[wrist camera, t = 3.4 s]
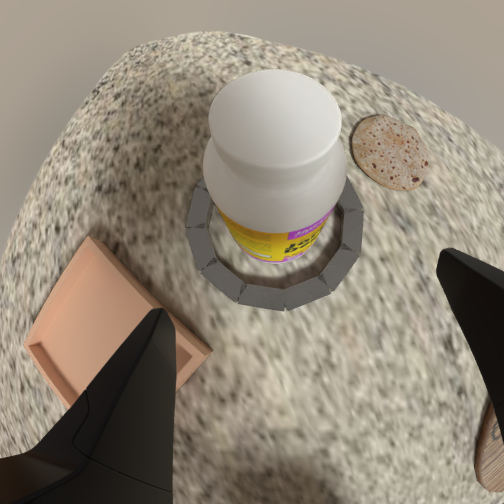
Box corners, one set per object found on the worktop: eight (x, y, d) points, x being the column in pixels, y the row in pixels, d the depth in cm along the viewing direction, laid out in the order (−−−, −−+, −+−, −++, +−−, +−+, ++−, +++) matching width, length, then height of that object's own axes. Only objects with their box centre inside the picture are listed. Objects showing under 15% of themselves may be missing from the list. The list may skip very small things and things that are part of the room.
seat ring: (387, 211, 21) (391, 206, 20) (288, 345, 19) (289, 346, 18) (262, 124, 23) (261, 117, 22) (159, 235, 22) (155, 232, 21)
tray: (212, 350, 20) (205, 356, 17) (125, 447, 18) (112, 457, 16) (103, 242, 22) (87, 235, 20) (39, 343, 21) (23, 345, 18)
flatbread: (404, 209, 21) (409, 205, 20) (334, 154, 22) (336, 148, 21) (436, 152, 22) (441, 147, 21) (376, 106, 23) (378, 100, 22)
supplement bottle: (283, 283, 20) (296, 244, 8) (214, 229, 22) (142, 135, 9) (335, 214, 21) (396, 107, 8) (267, 167, 22) (257, 38, 10)
